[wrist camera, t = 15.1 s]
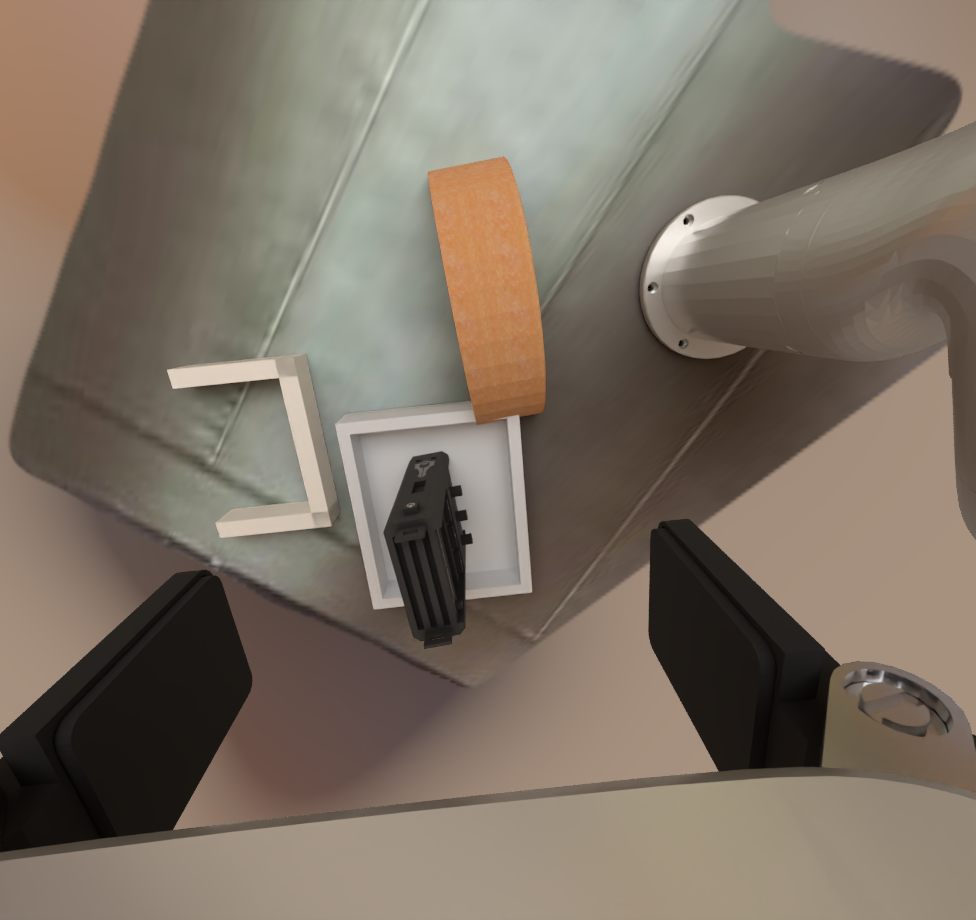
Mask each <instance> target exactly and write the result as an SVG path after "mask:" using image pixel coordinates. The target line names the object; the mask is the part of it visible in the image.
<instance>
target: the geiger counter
mask: <svg viewBox="0 0 976 920" xmlns="http://www.w3.org/2000/svg"><path fill="white" fill-rule="evenodd" d="M448 467H449V456H448V454H446V453H445V452H443V451H440V452H435V453H429V454H424V455H419V456H413V457H412V459H411V460H410V462H409V464H408V467H407V469H406V472H405V475H404V477H403V480H402V483H401V485H400V488H399V491H398V494H397V496H396V499H395V502H394V504H393V507H392V510H391V512H390V515H389V518H388V521H387V523H386V526H385V529H384V531H383V533H384V537H385V540H386V544H387V547H388V551H389V554H390V558H391V561H392V565H393V568H394V572H395V575H396V579H397V582H398V586H399V589H400V593H401V596H402V600H403V603H404V606H405V610H406V613H407V617H408V620H409V624H410V627H411V631H412V634H413V637H414V638H416V639H418V640H420V641H424V649H427V648H432V647H438V646H443V645H449V644H452V636H453V635H459V634H461V633H462V631H463V630H464V629H465V600H466V545H468V544H473V539H472V534H471V533H469V534H466V532H465V530H462V526H461V522H460V521H465V520H468V516H467V511H466V509H465V510H460V511H458V509H457V504H456V500H455V497H458V496H462V495H463V494H462V488H461V485H457V486H452V482H451V477H450V473H449V468H448ZM442 637H445V638H442ZM437 638H440V639H437ZM432 639H434V640H432Z"/></svg>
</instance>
